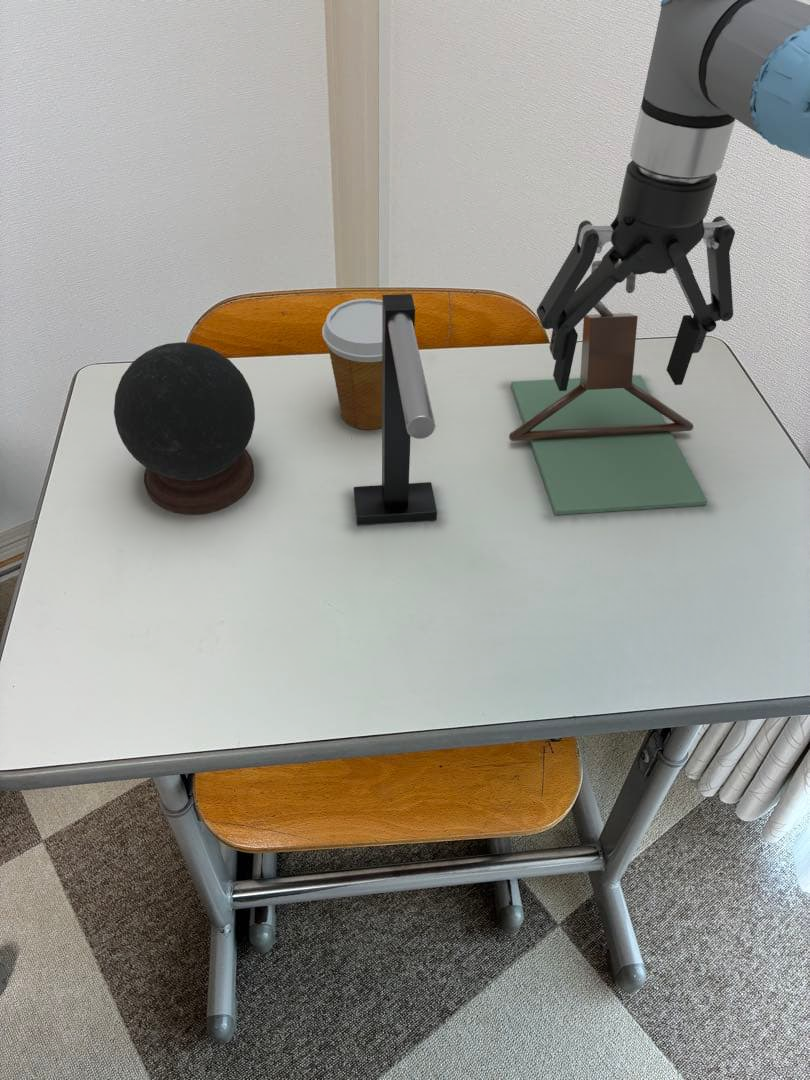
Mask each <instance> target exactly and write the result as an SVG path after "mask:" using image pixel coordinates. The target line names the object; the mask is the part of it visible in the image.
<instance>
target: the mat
mask: <svg viewBox="0 0 810 1080" xmlns="http://www.w3.org/2000/svg"><path fill="white" fill-rule="evenodd" d="M632 383H633V384H635V385H636V386H638V387H639V388H641V389H642V390H644V391H645V392H647V393H648V394H650V395H651V396H652V394H651V392H650V390H649V388H648V387H647V385H646V383H645V380H644V379H643V378H642V375H640V374H636V375H633V376H632ZM578 385H580V377H577V378H576V377H575V378H569V381H568V386H567V390H566V391H559V389H558V387H557V384H556V382H555V379H554V378H553V379H537V380H536V379H535V380H517V381H515V380H514V381H511V382H510V387H511V390H512V393H513V396H514V399H515V402H516V405H517V407H518V411H519V414H520V417H521V420H522V422H523V424H524V423H526V422H527V421H528V420H530V419H531V418H533V417H534V416H536V415H537V414H538V413H540V412H541V411H543V410H544V409H545V408H547V407H548V406H550V405H551V404H553V403H554V402H555V401H557V400H558V399H560V398H561V397H563V396H564V395H565V394H567V393H568V392H570V391H571V390H572V389H574V388H575V387H577V386H578ZM664 423H667V422H666V420H665V419H664V417H663V415H662V414H661V413H659V412H658V411H656V410H655V409H653V408H652V407H650V406H649V405H647V404H646V403H644V402H643V401H641V400H640V399H638V398H637V397H636V396H634V395H633V394H631V393H630V392H628V391H627V390H625V389H624V388H614V389H594V390H587V391H586V392H584V393H583V394H581V395H580V396H579V397H577V398H576V399H574V400H573V401H571V402H570V403H569V404H567V405H566V406H564V407H563V408H561V409H560V410H559V411H557V412H556V413H554V414H553V415H552V416H550V417H549V418H547V419H546V420H544V421H543V422H542V423H540V424H539V425H537V426H536V427H534V428H533V429H532V430H530V431H538V430H556V429H574V428H592V427H610V426H628V425H646V424H664ZM529 443H530V446H531V449H532V451H533V455H534V457H535V461H536V464H537V467H538V469H539V472H540V475H541V478H542V481H543V484H544V487H545V490H546V493H547V496H548V499H549V502H550V505H551V507H552V510H553V513H554V516H562V515H575V514H591V513H592V514H593V513H606V512H607V513H608V512H620V511H621V512H623V511H638V510H639V511H640V510H652V509H654V510H655V509H669V508H682V507H685V508H686V507H697V506H698V507H700V506H706V505H707V503H708V499H707V497H706V496H705V494H704V492H703V490H702V489H701V488H702V487H701V486H700V484H699V482H698V481H697V479H696V476H695V475H694V473H693V471H692V469H691V468H690V465H689V463H688V461H687V460H686V457H685V456H684V454H683V452H682V451H681V448H680V446H679V445H678V443H677V441H676V440H675V436H674V435H673V432H665V433H647V434H630V435H612V436H594V437H577V438H559V439H541V440H529Z"/></svg>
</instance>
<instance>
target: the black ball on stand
mask: <svg viewBox="0 0 810 1080" xmlns="http://www.w3.org/2000/svg"><path fill="white" fill-rule="evenodd" d="M114 395H115V396H114V406H113V416H114V422H115V426H116V429H117V434H118V436H119V437H120V439H121V442H122V444H123V445H124V447H125V448H126V450H127V451H128V452H129V454H130V455H131V457H132V458H133V459H135V460H136V461H137V462H138V463H139V464H141V466H143V467H145V469H144V473H143V482H144V487H145V490H146V493H147V495H148V497H149V498H150V500H151V501H153V502H154V504H156V505H157V506H158V507H160V508H162V509H164V510H165V511H168V512H172V513H174V514H181V515H203V514H209V513H213V512H217V511H220V510H222V509H225V508H228V507H229V506H231V505H233V504H234V503H236V502H238V501H239V500H240V499H241V498H242V497H243V496H245V495H246V493H247V492H248V491H249V490H250V489H251V486H252V484H253V482H254V478H255V466H254V461H253V459H252V456H251V455H250V453H249V452H248V450H247V447H248V444H249V442H250V441H251V439H252V435H253V432H254V427H255V423H256V408H255V407H256V406H255V400H254V397H253V393H252V390H251V387H250V386H249V383H248V382H247V380H246V378H245V376H244V374H243V373H242V372H241V371H240V369H238V368H237V366H236V365H235V364H234V363H233V362H232V361H231V360H230V359H229V358H227V357H226V356H225V355H223V354H221V353H220V352H218V351H217V350H215V349H213V348H210V347H208V346H204V345H200V344H197V343H194V342H184V341H182V342H169V343H165V344H162V345H158V346H156V347H153V348H151V349H149V350H147V351H145V352H144V353H143V354H141V355H139V356H138V357H137V358H136V359H134V361H132V362H131V364H130V365H129V366H128V368H127V369H126V370H125V371H124V373H123V375H122V376H121V378H120V381H119V382H118V385H117V388H116V391H115V393H114Z"/></svg>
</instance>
